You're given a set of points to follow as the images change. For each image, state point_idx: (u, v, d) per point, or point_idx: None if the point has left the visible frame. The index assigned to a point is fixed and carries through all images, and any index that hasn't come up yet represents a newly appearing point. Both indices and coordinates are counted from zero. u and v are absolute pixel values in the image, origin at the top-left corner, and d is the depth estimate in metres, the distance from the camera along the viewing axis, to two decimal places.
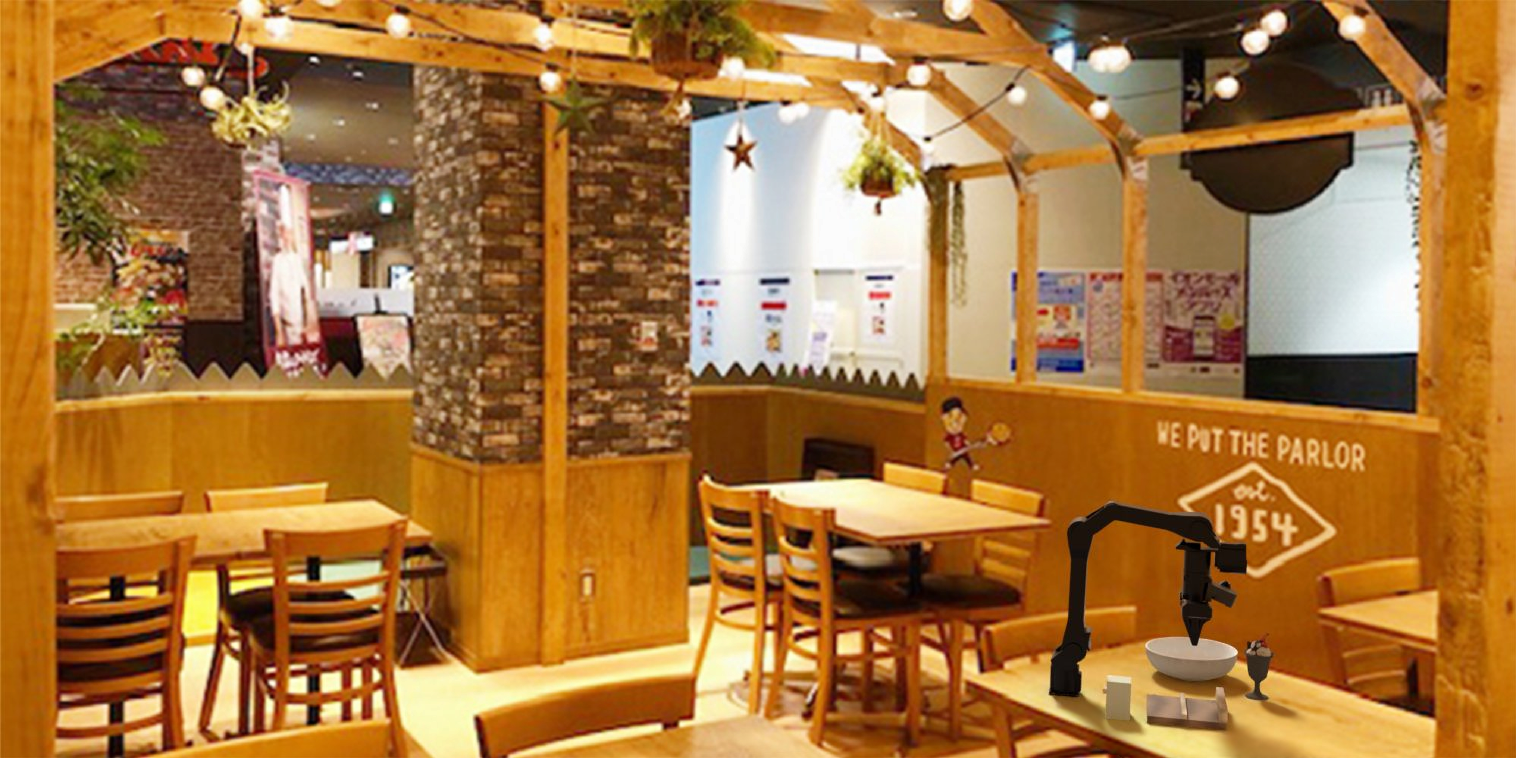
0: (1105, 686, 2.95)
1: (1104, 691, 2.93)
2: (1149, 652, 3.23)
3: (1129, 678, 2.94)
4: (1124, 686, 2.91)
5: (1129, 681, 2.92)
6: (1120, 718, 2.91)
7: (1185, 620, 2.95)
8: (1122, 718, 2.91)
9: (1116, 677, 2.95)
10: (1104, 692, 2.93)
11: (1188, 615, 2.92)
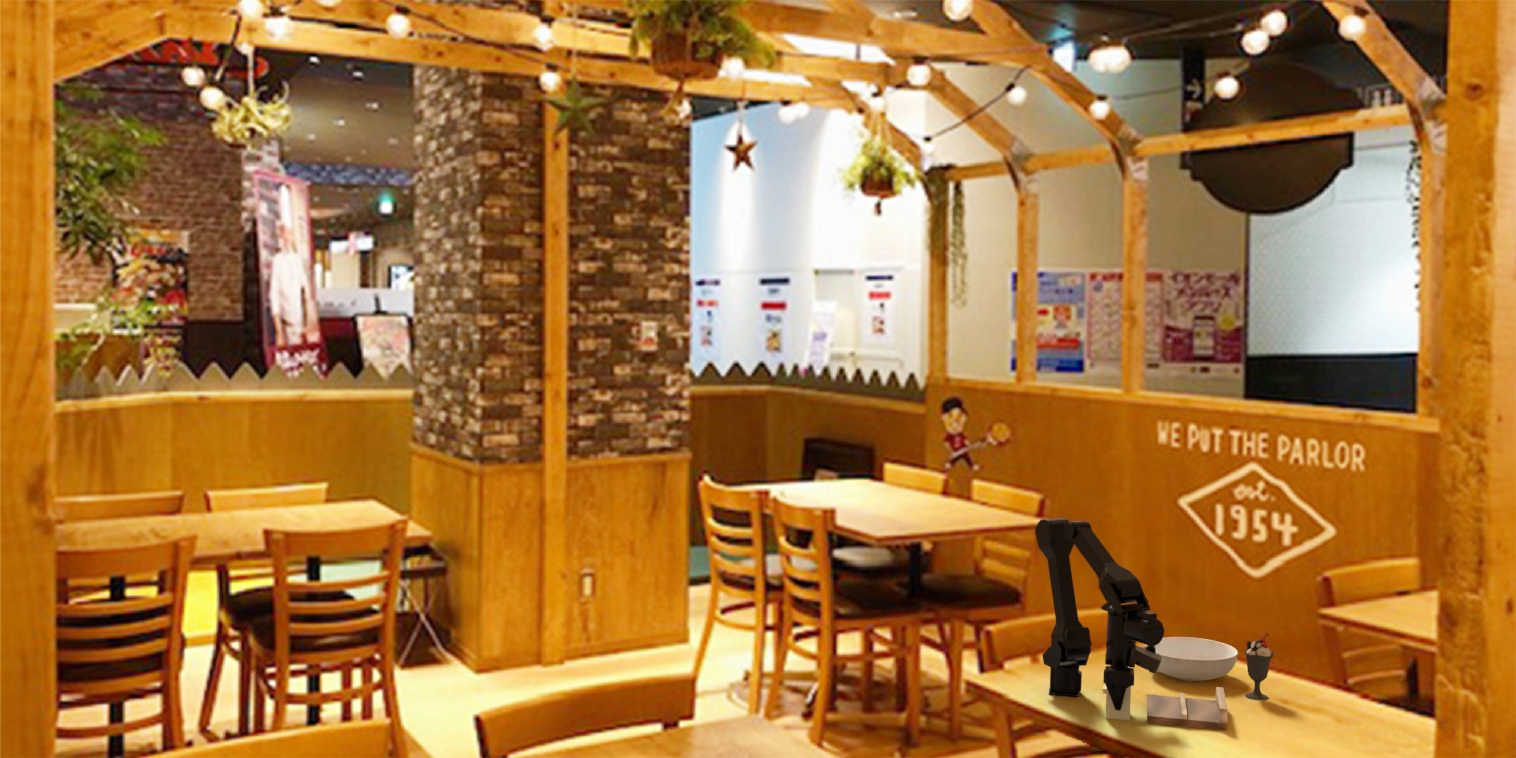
0: (1105, 686, 2.95)
1: (1104, 691, 2.93)
2: None
3: None
4: None
5: None
6: (1120, 718, 2.91)
7: (1108, 684, 2.89)
8: (1122, 718, 2.91)
9: None
10: (1104, 692, 2.93)
11: (1109, 682, 2.85)
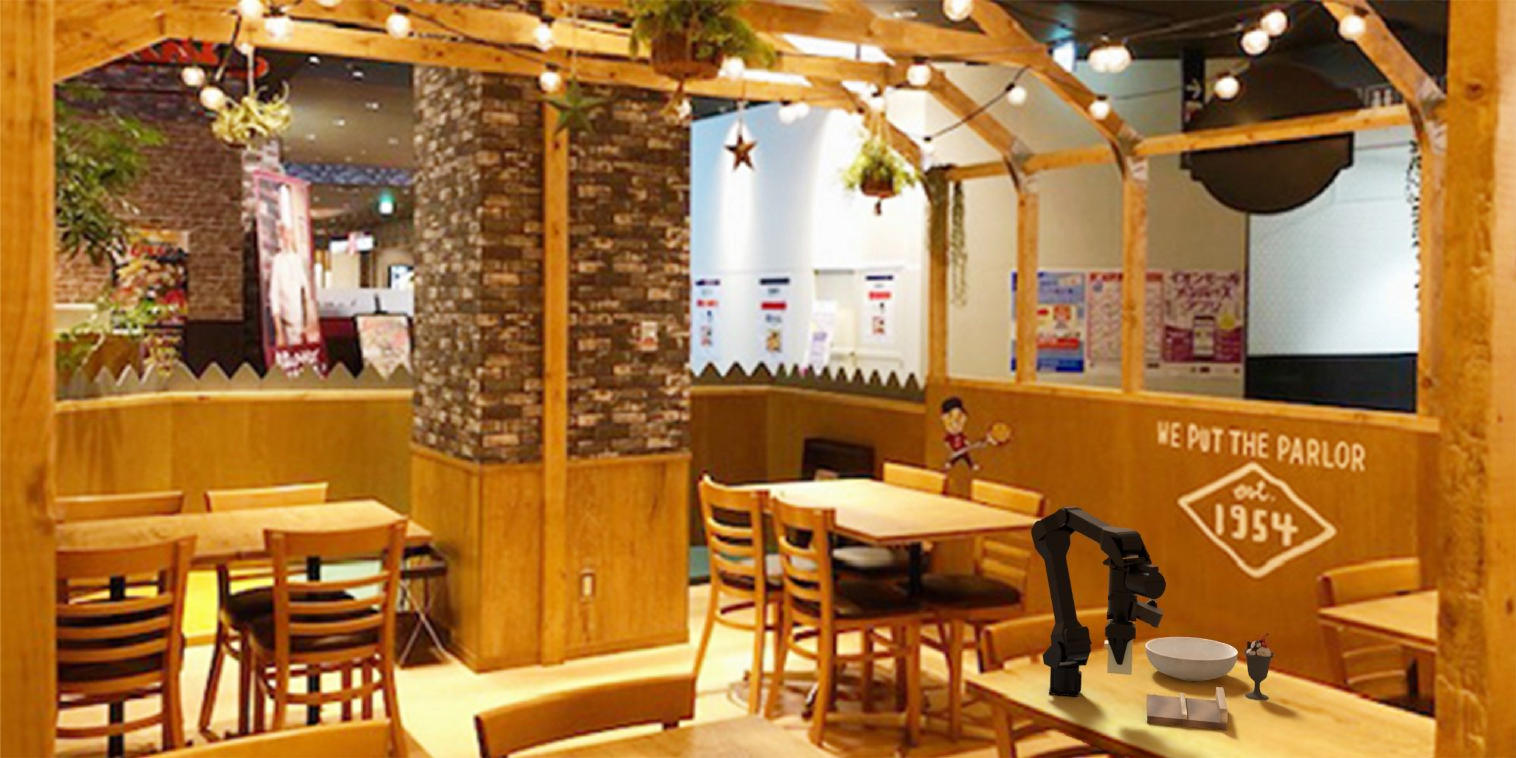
0: (1107, 641, 2.94)
1: (1106, 646, 2.92)
2: (1149, 652, 3.23)
3: None
4: None
5: None
6: (1122, 672, 2.91)
7: (1109, 638, 2.89)
8: (1124, 672, 2.90)
9: None
10: (1106, 647, 2.92)
11: (1111, 636, 2.84)
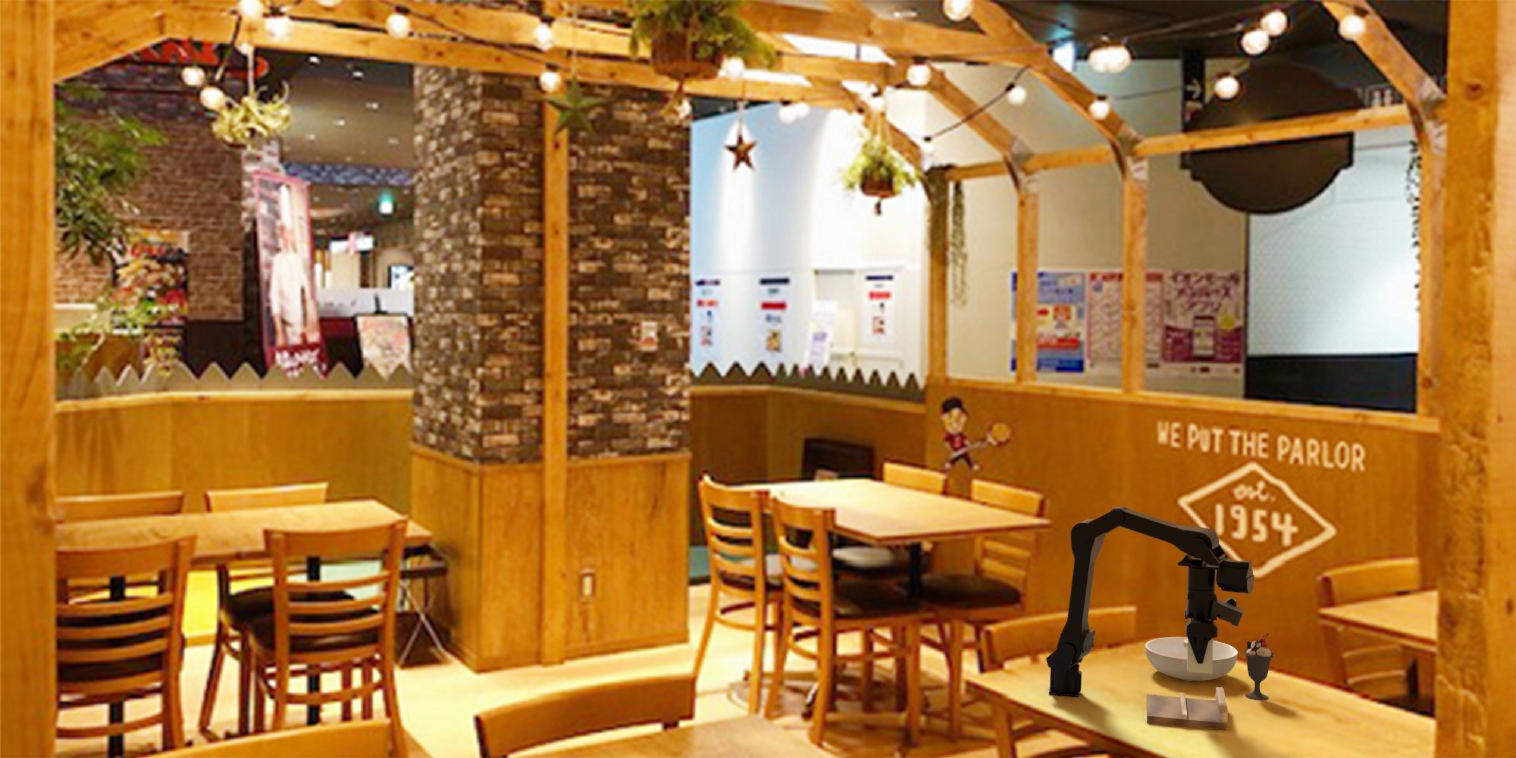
0: (1186, 640, 2.94)
1: (1185, 645, 2.92)
2: (1149, 652, 3.23)
3: None
4: None
5: None
6: (1202, 671, 2.90)
7: (1190, 637, 2.89)
8: (1204, 671, 2.90)
9: None
10: (1185, 646, 2.92)
11: (1193, 634, 2.84)
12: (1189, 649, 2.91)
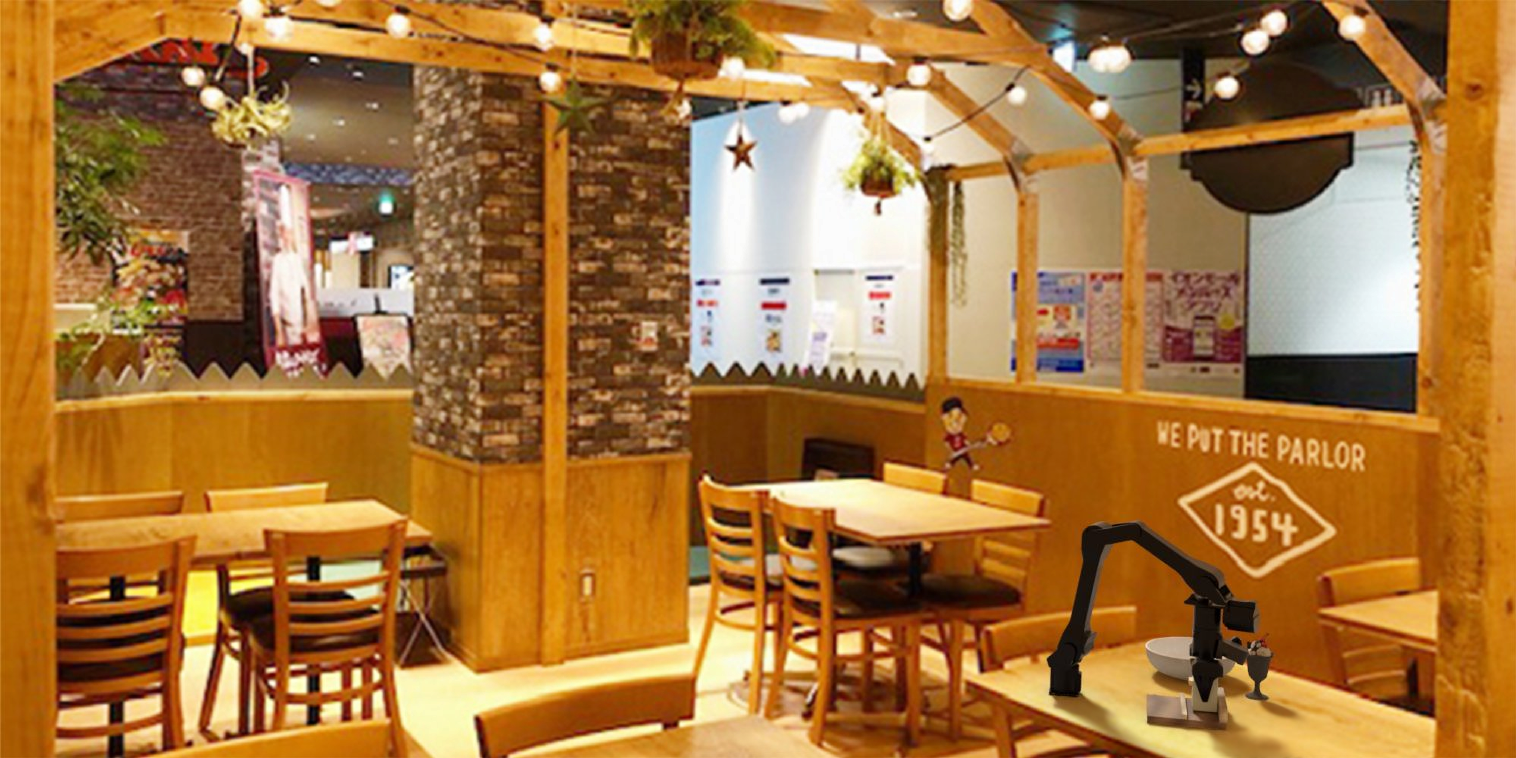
0: (1191, 678, 2.95)
1: (1190, 683, 2.93)
2: (1149, 652, 3.23)
3: None
4: None
5: None
6: (1207, 710, 2.91)
7: (1195, 676, 2.89)
8: (1209, 710, 2.91)
9: None
10: (1190, 684, 2.93)
11: (1198, 674, 2.85)
12: (1194, 687, 2.92)
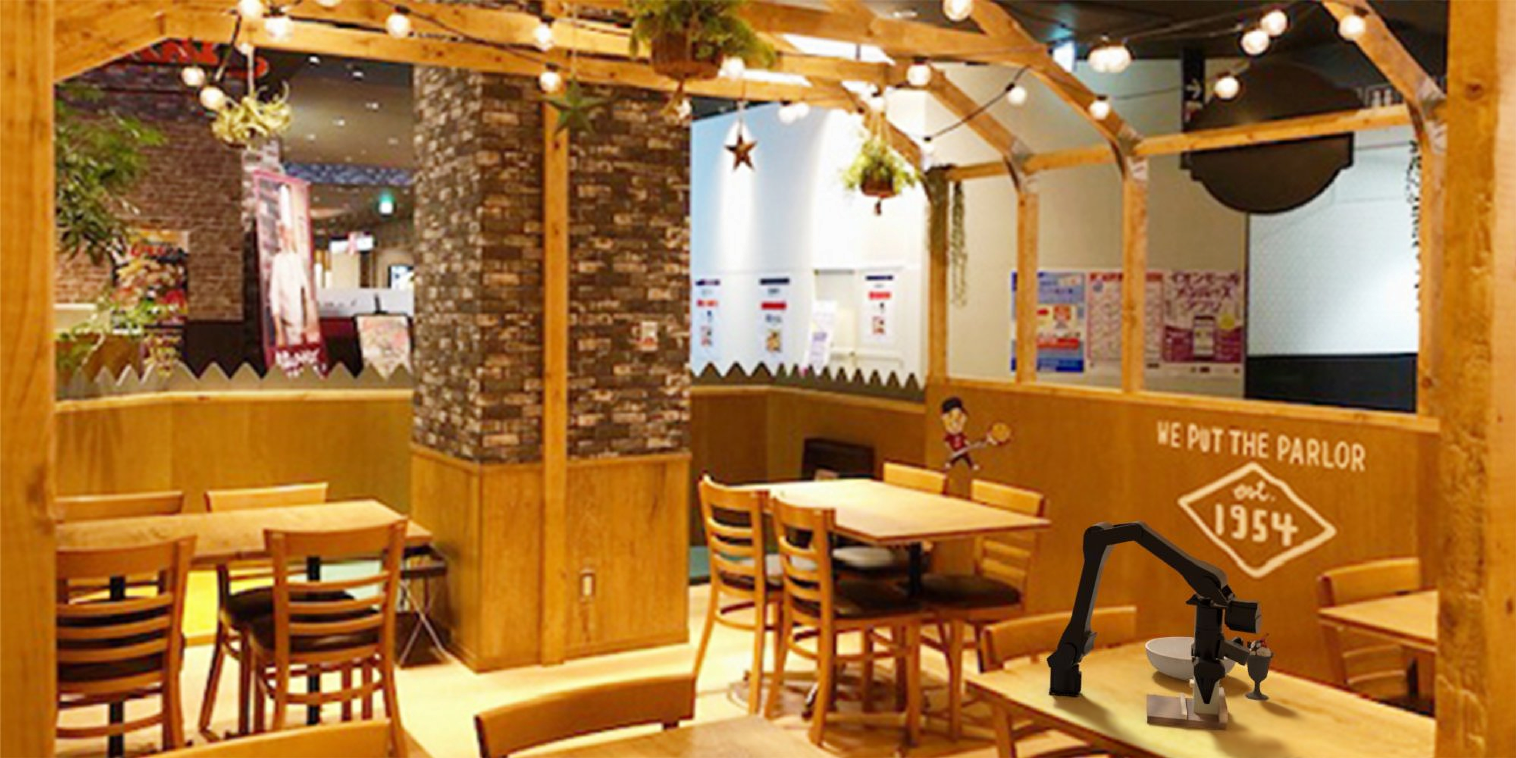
0: (1192, 680, 2.95)
1: (1192, 685, 2.93)
2: (1149, 652, 3.23)
3: None
4: None
5: None
6: (1208, 712, 2.91)
7: (1197, 678, 2.88)
8: (1210, 712, 2.91)
9: None
10: (1192, 686, 2.93)
11: (1200, 674, 2.84)
12: (1195, 690, 2.92)
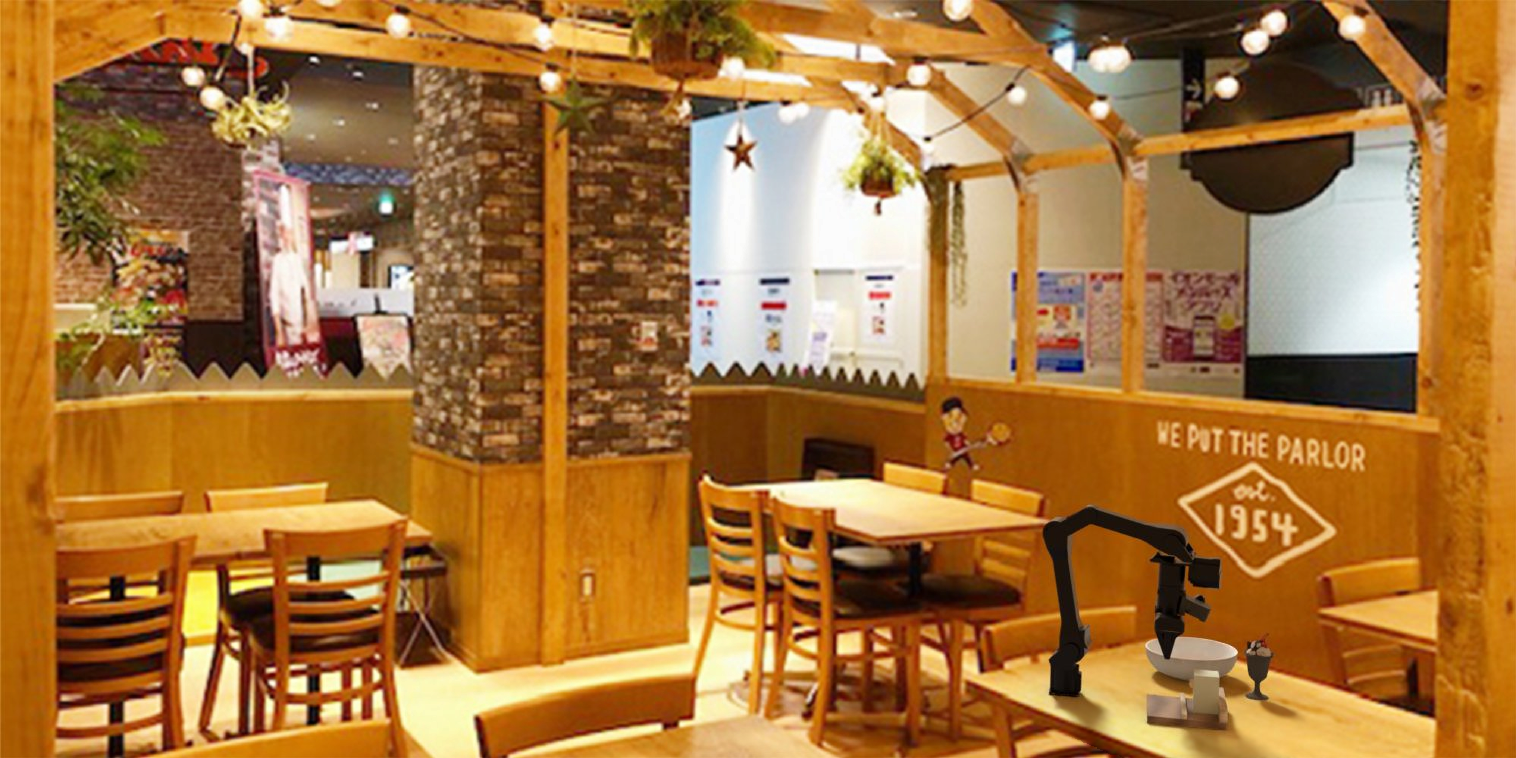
0: (1192, 680, 2.95)
1: (1192, 685, 2.93)
2: (1149, 652, 3.23)
3: (1216, 672, 2.94)
4: (1212, 680, 2.90)
5: (1217, 675, 2.92)
6: (1208, 712, 2.91)
7: (1158, 634, 2.95)
8: (1210, 712, 2.91)
9: (1203, 671, 2.94)
10: (1192, 686, 2.93)
11: (1160, 629, 2.92)
12: (1195, 690, 2.92)
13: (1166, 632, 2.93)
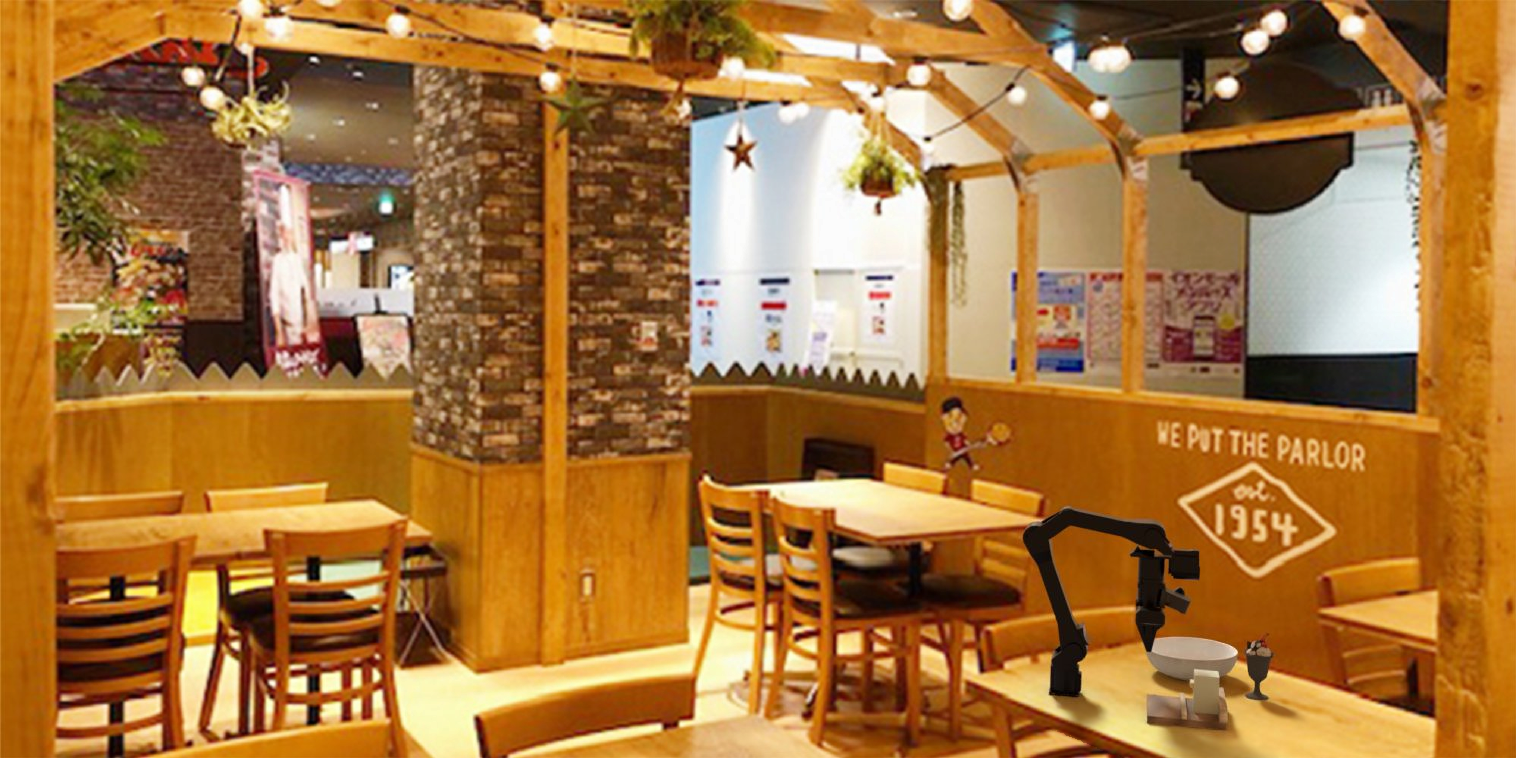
0: (1192, 680, 2.95)
1: (1192, 685, 2.93)
2: (1149, 652, 3.23)
3: (1216, 672, 2.94)
4: (1212, 680, 2.90)
5: (1217, 675, 2.92)
6: (1208, 712, 2.91)
7: (1139, 627, 2.99)
8: (1210, 712, 2.91)
9: (1203, 671, 2.94)
10: (1192, 686, 2.93)
11: (1141, 622, 2.96)
12: (1195, 690, 2.92)
13: (1147, 625, 2.97)
